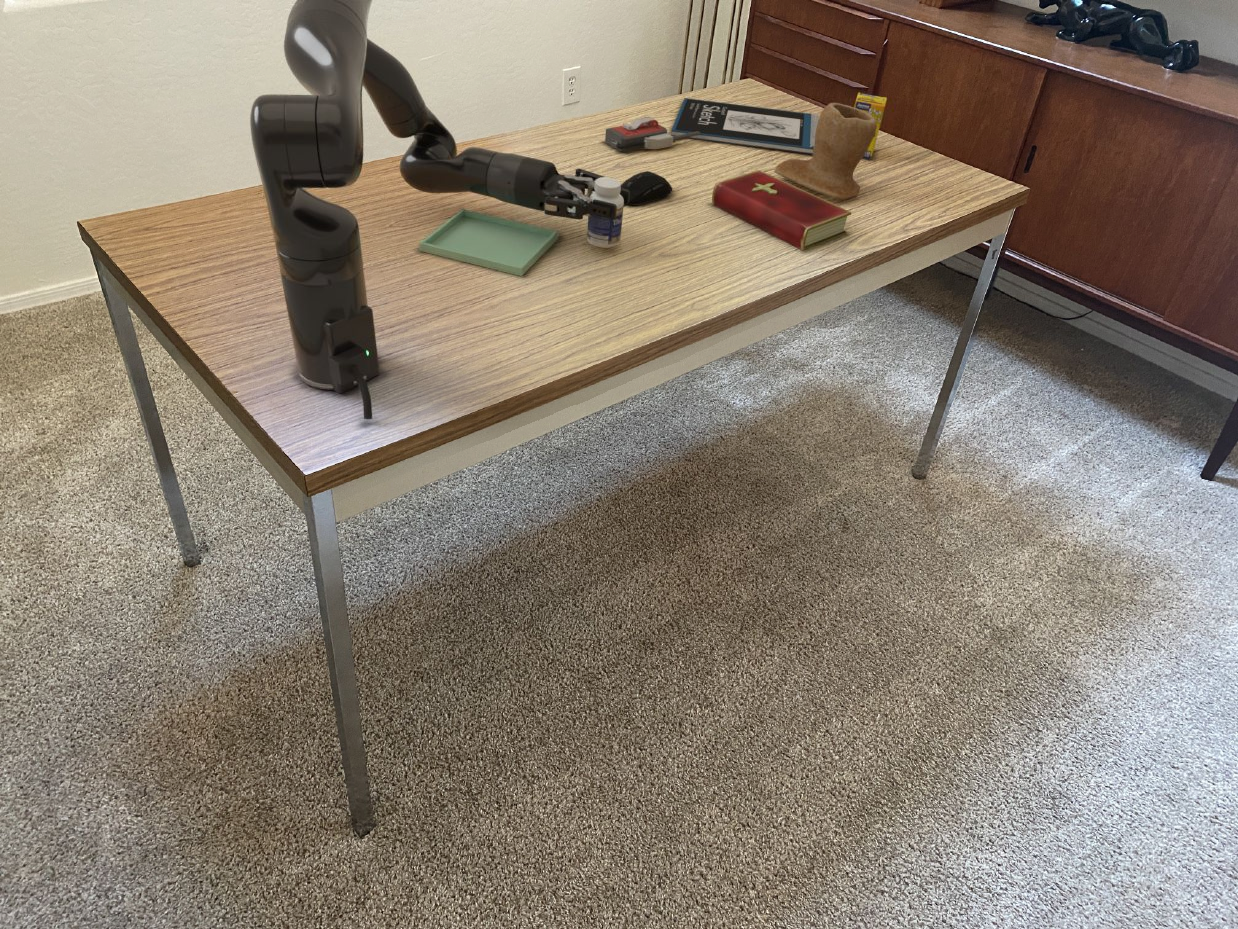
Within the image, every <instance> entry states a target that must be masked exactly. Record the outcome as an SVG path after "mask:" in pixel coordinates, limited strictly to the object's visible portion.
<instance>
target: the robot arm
mask: <svg viewBox="0 0 1238 929" xmlns="http://www.w3.org/2000/svg"><path fill="white" fill-rule="evenodd" d="M372 2H373V0H296V1H295V3H294V4H293V6H292V7H291V10H290V11H289V15H288V16H287V17H288V18H287V21H286V28H285V34H284V40H283V51H284V52H283V54H284V57H285V61H286V64H287V66H288V69H289V70H290V72H291V73H292V75H293V76H294V77H295V79H296V80H297V82H299V84H300V85H301V87H303V88H304V89H305V90H306V91H307V92H308V93H309V94H283V93H282V94H281V93H280V94H279V93H278V94H277V93H275V94H274V93H270V94H269V93H268V94H261V95H259V96H257V97H256V98H255V99H254V101H253V103H252V105H251V109H250V116H249V119H250V120H249V127H250V136H251V144H252V148H253V152H254V157H255V158H254V159H255V161H256V165H257V169H258V174H259V177H260V181H261V186H262V189H263V193H264V197H265V202H266V206H267V207H266V208H267V212H268V216H269V220H270V221H269V222H270V226H271V230H272V235H273V240H274V245H275V251H276V256H277V262H278V266H279V273H280V278H281V279H280V280H281V284H282V289H283V294H284V295H283V296H284V301H285V305H286V306H285V307H286V311H287V317H288V323H289V327H290V334H291V339H292V343H293V344H292V345H293V349H294V355H295V360H296V371H297V374H298V377H299V379H300V380H301V381H302V382H303V383H305V384H306V385H308V386H310V387H313V388H316V389H320V390H328V391H329V390H331V391H335V392H336V393H338V394H342V393H344V392H346V391H349V390H350V389H352V388H354V387H357V386H358V388H359V391H360V394H361V399H362V405H363V406H362V407H363V408H362V409H363V420H372V419H373V405H372V397H371V394H370V390H369V387H368V385H367V382H366V381H369V380H371V379H373V378H375V377H377V376H379V375H380V373H381V372H380V362H379V354H378V346H377V337H376V328H375V320H374V310H373V309H372V307H370V306H369V302H368V295H367V294H368V293H367V286H366V279H365V270H364V269H365V268H364V260H363V249H362V243H361V232H360V226H359V222H358V220H357V218H356V216H355V215H354V214H353V213H352V212H351V211H350V210H349V209H348V208H346V207H344V206H342V205H339V204H337V203H333V202H331V201H328V200H325V199H323V198H321V197H318V196H316V195H314V194H313V193H311V192H309V191H308V190H307V189H341V188H346V187H351V186H352V185H354V184H356V182H357V181H358V179H359V177H360V175H361V172H362V169H363V162H364V120H363V118H364V117H363V88H364V90H365V92H366V93H367V95H368V97H369V98H370V101H371V102H372V104H373V106H374V108H375V109H376V112H377V113H378V115H379V116H380V119H381V120H382V122H383V124H384V125H385V127H386V129H387V130H388V132H389V133H390V134H391V135H392V136H393V137H395V138H397V139H407V138H411V137H413V138H414V139H413V141H412V143H411V144H410V145H409V147H408V148H407V149H406V151H405V152H404V154H403V156H402V157H401V159H400V162H399V174H400V176H401V178H402V179H403V181H404V182H405V183H406V184H408V185H409V186H410V187H411V188H413V189H415V190H417V191H419V192H423V193H427V194H461V193H473V194H476V195H481V196H483V197H484V196H485V197H488V198H493V199H496V200H497V201H501V202H502V203H507V204H510V205H513V206H514V205H515V206H519V207H523V208H527V209H532V210H536V211H539V212H543V214H544V215H546V216H551V217H559V218H566V219H571V220H572V219H573V220H581V221H582V220H583V219H584V216H585V217H588V216H590V215H591V214H592V215H596V216H600V217H604V218H608V219H614V218H615V217H616V212H617V206H616V205H615V204H613V203H608V202H604V201H600V200H596V199H594V200H593V202H592V199H591V198H590V196H591V194H592V193H594V192H595V189H594V187H595V181H596V179H598V178H601V177H605V176H604V175H601V174H598V173H594V172H591V171H589V170H586V169H583V168H576V169H575V173H574V174H560V173H559V172H558V170H557V166H556V165H555V164H554V163H553V162H551V161H548V160H547V161H546V160H542V159H539V158H534V157H531V156H524V155H520V154H516V153H512V152H511V153H510V152H501V151H500V152H499V151H496V150H490V149H486V148H483V147H477V146H469V147H467V148H465V149H464V150H462V151H461V152H460V153H458V146H457V142H456V139H455V137H454V136H453V134H452V132H450V131H449V129H448V128H447V127H446V125H444V124H443V123H442V122H441V121H440V119H438V117H437V116H436V115H435V114H434V113H433V112H432V111H431V109H429V107H428V106H427V104H426V103H425V101H424V98H423V96H422V95H421V92H420V90H419V88H418V87H417V83H415V80H414V78H413V77H412V75H411V73H410V72H409V70H408V69H407V68H406V67H405V66H404V64H403V63H402V62H401V61H400V60H398V58H396V57H395V56H394V55H393V54H391V53H390V52H388V51H387V50H385V49H384V48H382V47H381V46H379V45H378V44H376V43H375V42H374V41H372V40H371V39H369V38H368V21H369V13H370V10H371V6H372ZM586 191H587V192H586ZM620 195H621V196H622V197H623V199H624V206H626V205H628V204H627V203H628V202H629V199H630V191H629V190H627V189H623V188H621V191H620Z"/></svg>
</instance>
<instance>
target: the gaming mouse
mask: <svg viewBox="0 0 1238 929" xmlns="http://www.w3.org/2000/svg"><path fill="white" fill-rule="evenodd" d="M621 188H623V189H627V190H629V191H630V199H629V202H628V203H627V204H626V205H629V206H639V205H643V204H647V203H650V202H655V201H658V200H661V199H665V198H666V197H668V196H669V195H670V194H672V192H673V186H672V185H671V184H670V183H669V181H668V180H667V179H666V178H665V177H663V176H661V175H659V174H657V173H655V172H652V171H649V170H647V171H642V172H639V173H636V174H633V175H632V176H631V177H629V178H628V179H626V180H625V181H623V182H622V183H621Z"/></svg>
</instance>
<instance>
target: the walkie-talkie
mask: <svg viewBox="0 0 1238 929" xmlns="http://www.w3.org/2000/svg"><path fill="white" fill-rule="evenodd" d="M697 135H700V132H699V131H697V132H692V133H687V134H682V135H677V136H671V134H669V133H668V129H667V128H666V127H664V126H663V125H661V124H659V121H658V120H656V119H654V118H652V117H651V116H645V117H640V118H635V119H634V120H632V122H630V123H627V122H623V123H622V125H619V126H614V127H608V128H606V129H605V138H604V143H605V144H606V145H608V146H610V147H611V148H614V149H615V150H617V151H618V152H620V153H628V152H633V151H639V150H642V149H648V150H659V149H663V148H671V147H673V146H674V143H677V142H679V141H680V142H681V141H683V140H688V139H691V138H690V137H692V136H697Z"/></svg>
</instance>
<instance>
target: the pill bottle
mask: <svg viewBox="0 0 1238 929" xmlns="http://www.w3.org/2000/svg"><path fill="white" fill-rule="evenodd" d="M621 184H622V183H621V181H620V180H619V179H616V178H614V177H611V176H610V177H609V176H604V177H601V178H598V179H596V181H595V187H594V189H595V192H594V191H593V193H592V194H591V196H590V198H591V199H592V202H593V200H594V199H596V200H600V201H604V202H608V203H613V204H615V205H616V206H617V212H616V217H615V218H614V219H608V218H604V217H600V216H596V215H592V214H591V215H590V216H587V228H586V240H587V242H588V243H589V244H590V245H592V246H595V247H597V248H605V249H607V248H608V249H609V248H614V247H616V246H618V245H619V244H620V242H621V237H622V226H623V216H624V207H625V204H624V199H623V197H622V196H621V195H620V191H621Z"/></svg>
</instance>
